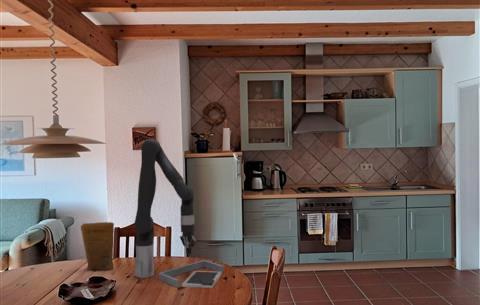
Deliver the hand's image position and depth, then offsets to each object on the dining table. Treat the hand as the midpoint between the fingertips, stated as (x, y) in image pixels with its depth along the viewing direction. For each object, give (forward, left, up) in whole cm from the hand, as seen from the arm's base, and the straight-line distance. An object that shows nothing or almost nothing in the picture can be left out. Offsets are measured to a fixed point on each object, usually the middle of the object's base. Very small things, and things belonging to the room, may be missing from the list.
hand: (188, 254), depth 212 cm
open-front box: (0, -3, -11) cm, 12 cm away
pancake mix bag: (-30, +46, -12) cm, 56 cm away
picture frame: (0, -12, -12) cm, 17 cm away
